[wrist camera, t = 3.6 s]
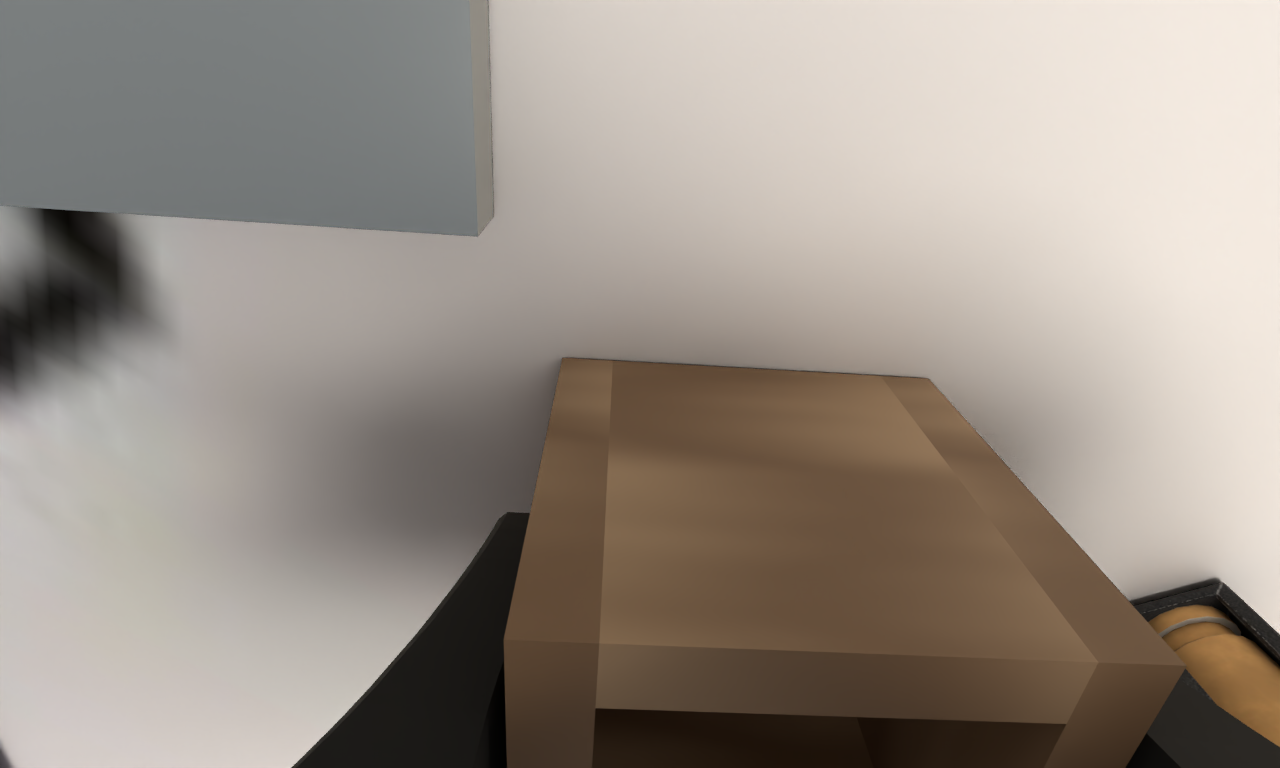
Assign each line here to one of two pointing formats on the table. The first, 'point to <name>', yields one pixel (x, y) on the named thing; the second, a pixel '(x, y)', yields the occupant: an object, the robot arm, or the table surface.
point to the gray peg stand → (251, 111)
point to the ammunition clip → (1224, 652)
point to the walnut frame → (805, 587)
